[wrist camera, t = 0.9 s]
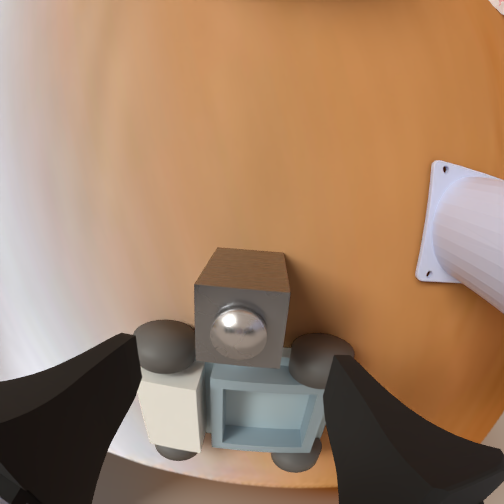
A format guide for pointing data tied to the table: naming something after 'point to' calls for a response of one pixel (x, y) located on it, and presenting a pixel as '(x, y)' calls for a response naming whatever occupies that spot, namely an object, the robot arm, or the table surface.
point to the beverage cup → (498, 5)
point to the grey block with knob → (242, 308)
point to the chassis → (234, 397)
